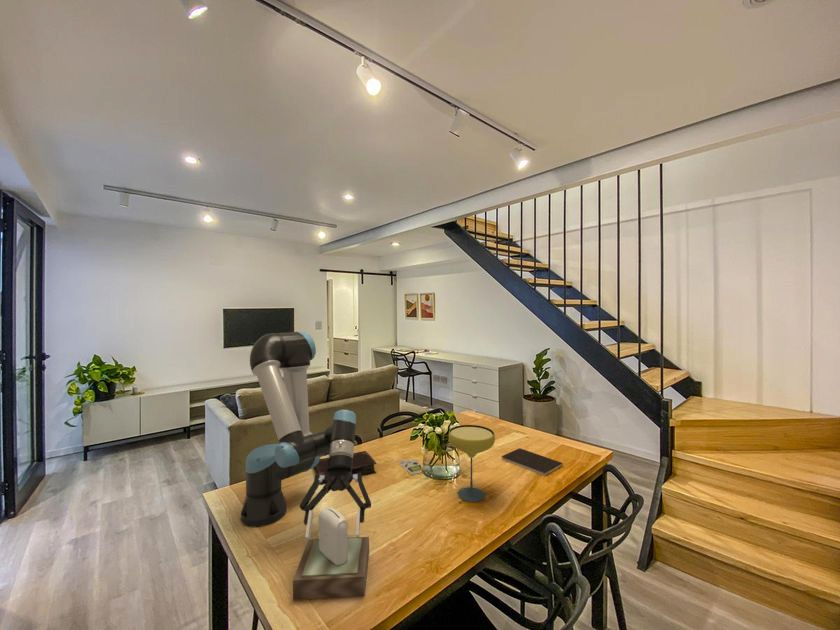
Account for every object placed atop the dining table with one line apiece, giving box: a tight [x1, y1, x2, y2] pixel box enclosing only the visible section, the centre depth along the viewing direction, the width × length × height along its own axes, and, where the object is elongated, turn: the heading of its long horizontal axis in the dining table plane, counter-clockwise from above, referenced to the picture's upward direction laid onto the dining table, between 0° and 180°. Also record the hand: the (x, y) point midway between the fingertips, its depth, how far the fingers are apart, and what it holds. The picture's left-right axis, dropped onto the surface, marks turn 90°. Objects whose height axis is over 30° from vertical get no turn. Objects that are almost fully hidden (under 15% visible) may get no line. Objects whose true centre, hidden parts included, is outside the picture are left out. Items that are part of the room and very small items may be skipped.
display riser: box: [292, 536, 370, 601], centre depth 99 cm, size 18×16×5 cm
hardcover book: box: [501, 447, 563, 477], centre depth 170 cm, size 16×23×2 cm
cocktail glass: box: [448, 424, 496, 503], centre depth 141 cm, size 18×18×25 cm
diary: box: [312, 450, 377, 485], centre depth 162 cm, size 19×25×5 cm
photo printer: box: [318, 506, 349, 565], centre depth 99 cm, size 10×4×12 cm, turn 46°
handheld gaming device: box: [397, 458, 423, 475], centre depth 166 cm, size 9×1×15 cm
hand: (332, 537), depth 96 cm, fingers open, 13 cm apart
